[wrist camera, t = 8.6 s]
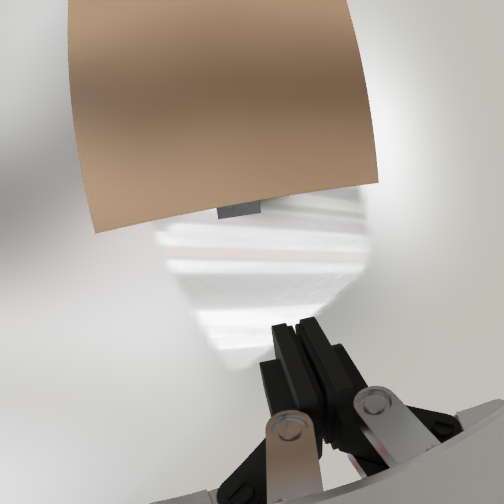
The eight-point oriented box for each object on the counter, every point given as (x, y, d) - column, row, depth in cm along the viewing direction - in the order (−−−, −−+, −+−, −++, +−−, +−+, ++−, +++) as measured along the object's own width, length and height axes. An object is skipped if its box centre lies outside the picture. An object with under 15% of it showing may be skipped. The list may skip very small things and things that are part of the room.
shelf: (158, 96, 25) (68, -1, 6) (252, 80, 25) (333, -37, 6) (172, 179, 27) (95, 233, 8) (266, 163, 28) (378, 182, 9)
